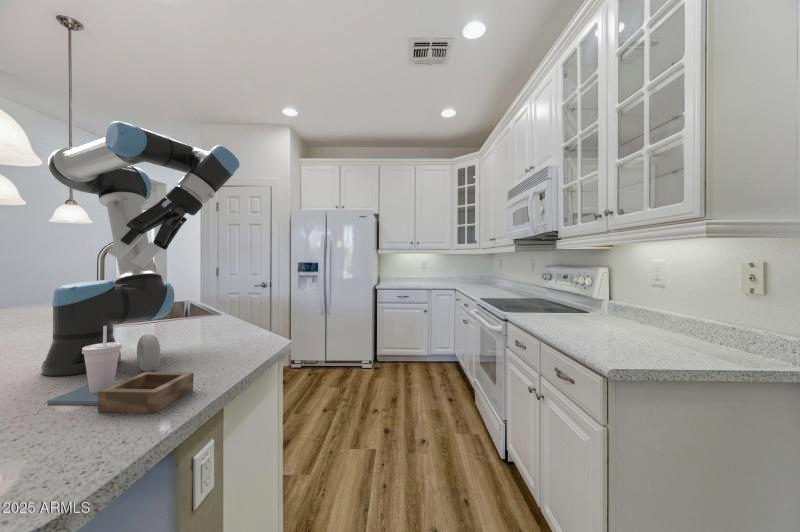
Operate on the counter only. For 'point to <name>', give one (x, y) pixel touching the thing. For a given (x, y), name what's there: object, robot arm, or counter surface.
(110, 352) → the smoothie
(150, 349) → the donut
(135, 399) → the collar
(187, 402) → the counter surface
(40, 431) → the counter surface
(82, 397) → the coaster
